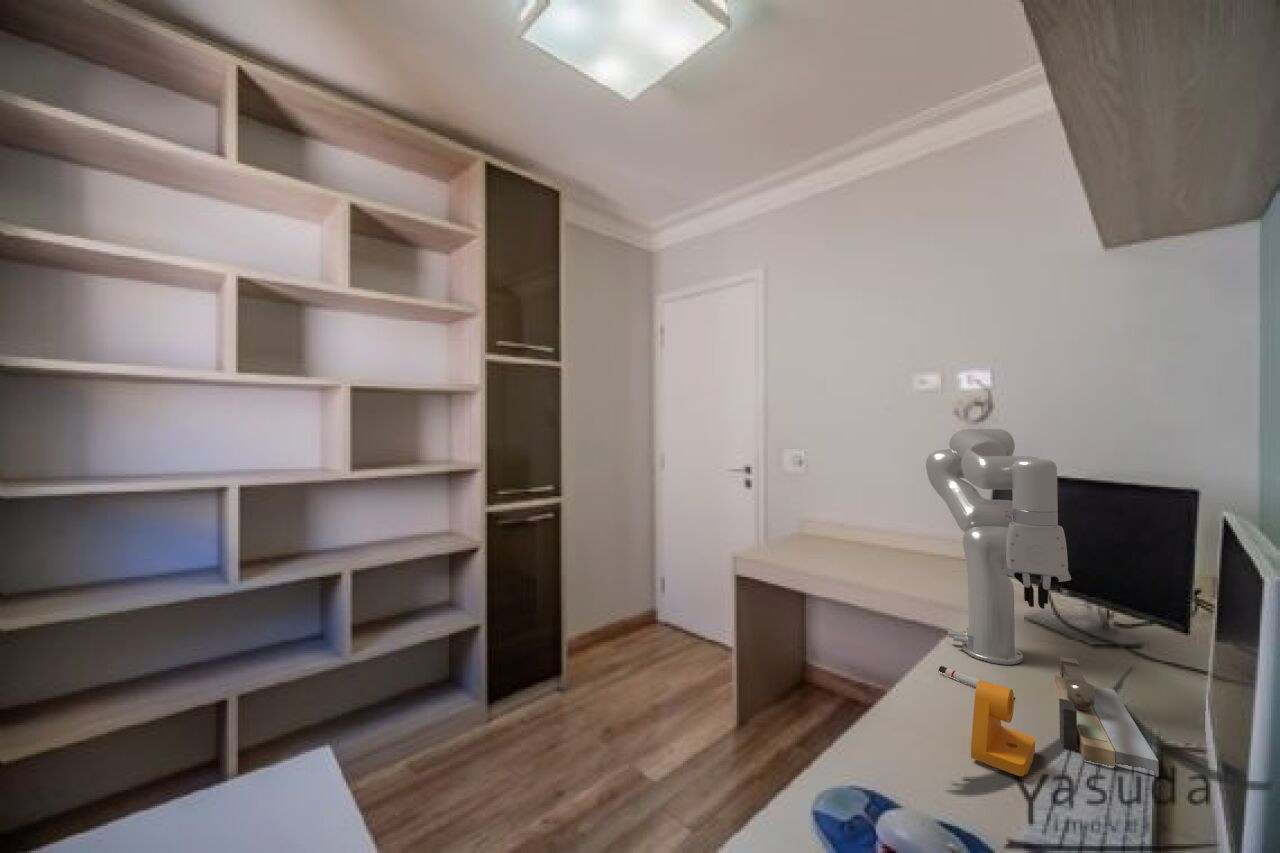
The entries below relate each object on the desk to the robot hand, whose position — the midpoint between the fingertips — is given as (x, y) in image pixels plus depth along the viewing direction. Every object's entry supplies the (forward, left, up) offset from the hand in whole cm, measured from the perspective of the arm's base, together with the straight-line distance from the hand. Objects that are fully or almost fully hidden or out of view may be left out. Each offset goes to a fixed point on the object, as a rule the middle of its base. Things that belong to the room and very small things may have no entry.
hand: (1036, 605), depth 109 cm
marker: (-11, -1, -20) cm, 22 cm away
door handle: (+6, -3, -15) cm, 16 cm away
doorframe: (+7, -8, -19) cm, 22 cm away
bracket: (-8, -27, -19) cm, 34 cm away
